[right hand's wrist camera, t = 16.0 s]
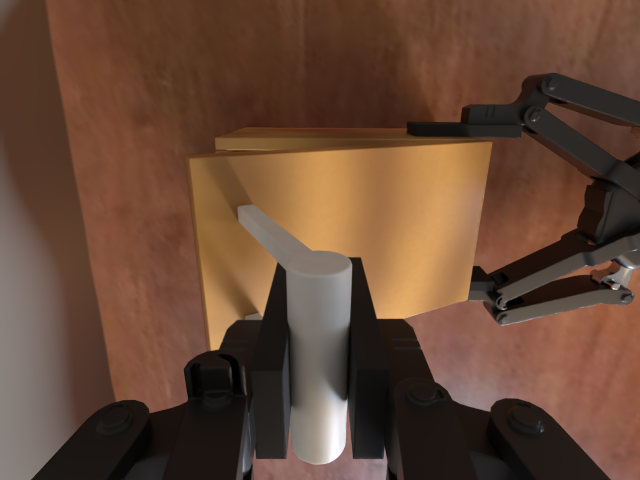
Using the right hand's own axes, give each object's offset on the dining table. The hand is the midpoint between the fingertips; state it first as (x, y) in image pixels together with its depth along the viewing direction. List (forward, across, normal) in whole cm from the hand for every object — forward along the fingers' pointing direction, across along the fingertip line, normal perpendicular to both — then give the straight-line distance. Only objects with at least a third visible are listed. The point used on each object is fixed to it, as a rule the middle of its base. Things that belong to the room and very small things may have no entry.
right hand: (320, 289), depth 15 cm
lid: (+6, -2, 0) cm, 6 cm away
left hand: (+12, -6, 0) cm, 14 cm away
